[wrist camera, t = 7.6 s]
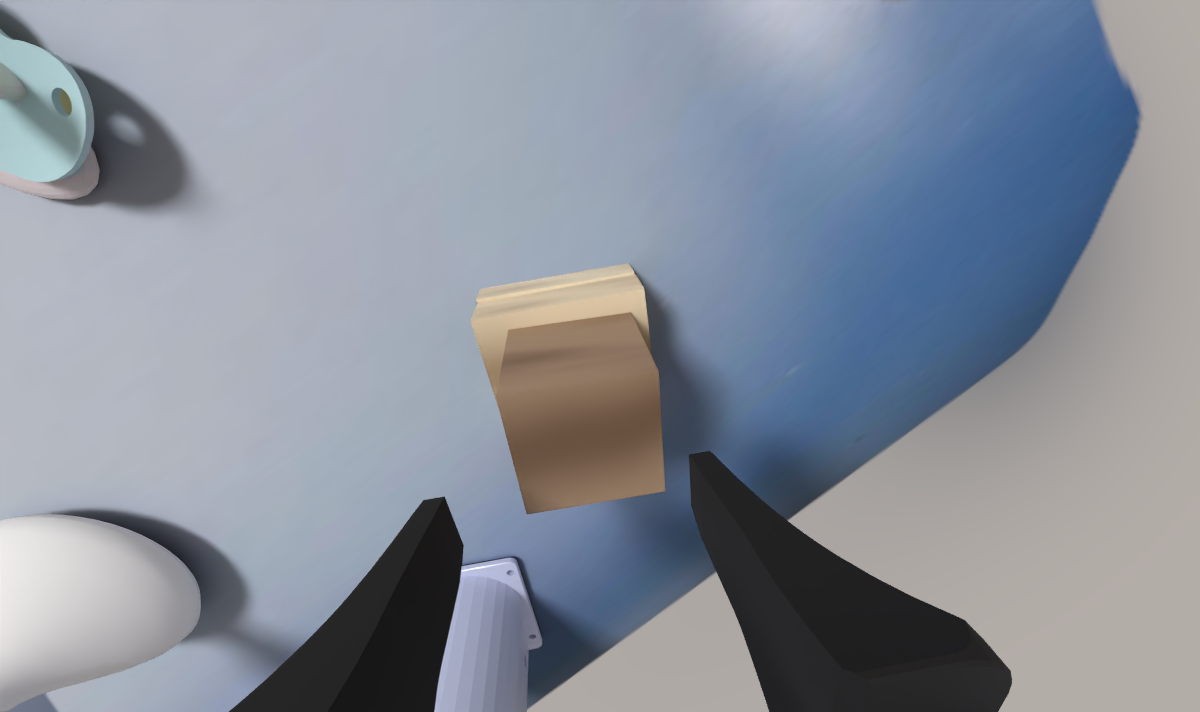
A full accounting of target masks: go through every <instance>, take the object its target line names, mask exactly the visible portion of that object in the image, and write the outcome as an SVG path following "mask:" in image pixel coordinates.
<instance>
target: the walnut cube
mask: <svg viewBox="0 0 1200 712" xmlns="http://www.w3.org/2000/svg"><path fill="white" fill-rule="evenodd" d="M496 399H497V403H498V406H499V410H500V414H501V418H502V422H503V425H504V429H505V433H506V437H507V441H508V445H509V448H510V452H511V456H512V460H513V464H514V467H515V471H516V475H517V479H518V483H519V486H520V490H521V494H522V498H523V502H524V505H525V509H526V513H527V514H532V513H538V512H544V511H550V510H556V509H562V508H568V507H574V506H580V505H586V504H592V503H598V502H604V501H610V500H616V499H622V498H628V497H634V496H640V495H646V494H652V493H658V492H664V491H665V478H664V460H663V441H662V422H661V403H660V385H659V371H658V369H657V367H656V365H655V363H654V360H653V358H652V356H651V354H650V352H649V350H648V348H647V346H646V344H645V341H644V339H643V337H642V335H641V333H640V331H639V329H638V327H637V325H636V322H635V320H634V318H633V316H632V314H631V312H629V313H622V314H615V315H608V316H601V317H594V318H587V319H580V320H573V321H566V322H559V323H552V324H545V325H538V326H531V327H524V328H517V329H510V330H508V334H507V339H506V344H505V350H504V355H503V361H502V366H501V371H500V377H499V382H498V388H497V393H496Z"/></svg>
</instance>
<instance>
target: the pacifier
mask: <svg viewBox="0 0 1200 712" xmlns="http://www.w3.org/2000/svg"><path fill="white" fill-rule="evenodd" d="M93 135H94V111H93V106H92V102H91V99H90V96H89V93H88V91H87V89H86V87H85V85H84V83H83V81H82V80H81V78H80V77H79V76H78V74H77V73H76V72H75V71H74V69H73V68H72V67H71V66H70V65H68V64H67V63H66V62H65V61H64V60H63V59H61V58H60V57H58V56H57V55H55V54H53V53H51V52H50V51H48V50H46V49H43V48H41V47H38V46H36V45H33V44H30V43H27V42H24V41H20V40H14V39H12V38H10V37H9V36H8V35H6V34H5V33H4V32H3V31H2V30H1V29H0V184H2V185H5V186H7V187H10V188H13V189H16V190H18V191H21V192H24V193H27V194H31V195H36V196H41V197H45V198H50V199H77V198H80V197H83V196H85V195H88V194H89V193H90V192H91V191H92V190H93V189H94V188H95V187H96V185H97V184H98V180H99V172H100V168H99V165H98V162H97V158H96V155H95V152H94V150H93V148H92V147H91V143H92V140H93Z"/></svg>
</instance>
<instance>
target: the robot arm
mask: <svg viewBox="0 0 1200 712" xmlns="http://www.w3.org/2000/svg"><path fill="white" fill-rule="evenodd" d="M689 462H690V487H691V506H692V509H693V513H694V516H695V519H696V522H697V525H698V528H699V531H700V534H701V538H702V540H703V542H704V545H705V547H706V549H707V551H708V554H709V556H710V558H711V560H712V563H713V565H714V567H715V569H716V572H717V574H718V576H719V578H720V580H721V583H722V585H723V587H724V589H725V591H726V594H727V596H728V598H729V600H730V603H731V605H732V607H733V609H734V611H735V614H736V617H737V619H738V621H739V624H740V626H741V629H742V632H743V635H744V637H745V640H746V644H747V646H748V649H749V652H750V655H751V658H752V661H753V664H754V667H755V669H756V672H757V676H758V679H759V681H760V685H761V688H762V690H763V693H764V697H765V700H766V702H767V706H768V709H769V712H998V711H999V709H1000V707H1001V705H1002V704H1003V702H1004V700H1005V698H1006V697H1007V695H1008V693H1009V690H1010V687H1011V684H1012V677H1011V671H1010V670H1009V669H1008V667H1007V666H1006V665H1005V664H1004V663H1003V662H1002V660H1001V659H1000V658H999V657H998V656H997V655H996V653H995V652H994V651H993V650H992V649H991V647H990V646H989V645H988V644H987V643H986V642H985V641H984V639H983V638H982V637H981V636H980V635H979V634H978V633H977V632H976V631H975V630H973V628H972V627H971V626H970V625H969V624H968V623H967V622H966V621H965V620H963V619H961V618H959V617H957V616H954V615H952V614H950V613H948V612H945V611H943V610H941V609H939V608H936V607H934V606H932V605H930V604H928V603H925V602H923V601H921V600H919V599H916V598H914V597H912V596H910V595H908V594H906V593H904V592H902V591H900V590H898V589H896V588H894V587H892V586H891V585H888V584H887V583H885V582H883V581H881V580H879V579H877V578H875V577H873V576H871V575H870V574H868V573H866V572H865V571H863V570H861V569H859V568H858V567H856V566H854V565H853V564H851V563H849V562H847V561H846V560H844V559H842V558H840V557H839V556H837V555H836V554H834V553H832V552H831V551H829V550H828V549H826V548H825V547H823V546H822V545H820V544H819V543H817V542H816V541H814V540H813V539H811V538H810V537H808V536H807V535H806V534H804V533H803V532H802V531H800V530H799V529H797V528H796V527H795V526H793V525H792V524H791V523H789V522H788V521H787V520H786V519H784V518H783V517H782V516H781V515H779V514H778V513H777V512H776V511H774V510H773V509H772V508H771V507H770V506H768V505H767V504H766V503H765V502H764V501H762V500H761V499H760V498H759V497H758V496H757V495H756V494H754V493H753V492H752V491H751V490H750V489H749V488H748V487H747V486H746V485H744V484H743V483H742V482H741V481H740V480H739V479H738V478H737V477H736V476H735V475H734V474H733V473H732V472H731V471H730V470H729V469H728V468H727V467H726V466H725V465H724V464H723V463H722V462H721V461H720V460H719V459H718V458H717V457H716V456H715V455H714V454H713V453H711V452H710V451H707V452H701V453H695V454H690V455H689ZM463 546H464V545H463V543H462V540H461V538H460V535H459V533H458V530H457V528H456V525H455V522H454V520H453V517H452V515H451V512H450V510H449V507H448V504H447V502H446V499H445V497H440V498H434V499H428V500H423V502H422V503H421V504H420V505H419V507H418V508H417V509H416V511H415V512H414V513H413V515H412V516H411V517H410V519H409V520H408V521H407V523H406V524H405V525H404V527H403V528H402V529H401V531H400V532H399V533H398V535H397V536H396V538H395V539H394V540H393V542H392V543H391V544H390V545H389V547H388V548H387V549H386V551H385V552H384V553H383V555H382V556H381V557H380V558H379V560H378V561H377V562H376V564H375V565H374V566H373V567H372V569H371V570H370V571H369V572H368V574H367V575H366V576H365V577H364V578H363V580H362V581H361V582H360V583H359V584H358V586H357V587H356V588H355V589H354V590H353V592H352V593H351V594H350V595H349V596H348V598H347V599H346V600H345V601H344V602H343V603H342V604H341V606H340V607H339V608H338V609H337V610H336V611H335V612H334V613H333V614H332V615H331V617H330V618H329V619H328V620H327V621H326V622H325V623H324V624H323V625H322V626H321V627H320V628H319V629H318V630H317V631H316V632H315V633H314V634H313V635H312V636H311V637H310V638H309V639H308V640H307V641H306V642H305V643H304V644H303V645H302V646H301V647H300V648H299V649H298V650H297V651H296V652H295V653H294V654H293V655H292V656H291V657H290V658H288V659H287V660H286V661H285V662H284V663H283V664H282V665H281V666H280V667H279V668H278V669H277V670H276V671H275V672H274V673H273V674H272V675H271V676H269V677H268V678H267V679H266V680H265V681H264V682H263V683H262V684H261V685H259V686H258V687H257V688H256V689H255V690H254V691H253V692H251V693H250V694H249V695H248V696H247V697H246V698H245V699H243V700H242V701H241V702H240V703H239V704H238V705H236V706H235V707H234V708H233V709H232V710H230V711H229V712H527V684H528V657H529V650H531V649H536V648H539V647H541V645H542V637H541V633H540V630H539V627H538V624H537V621H536V618H535V615H534V612H533V609H532V606H531V603H530V600H529V597H528V593H527V590H526V587H525V584H524V581H523V578H522V575H521V572H520V569H519V566H518V563H517V561H516V560H515V559H514V558H504V559H499V560H493V561H488V562H482V563H477V564H471V565H466V566H462V558H463Z"/></svg>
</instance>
